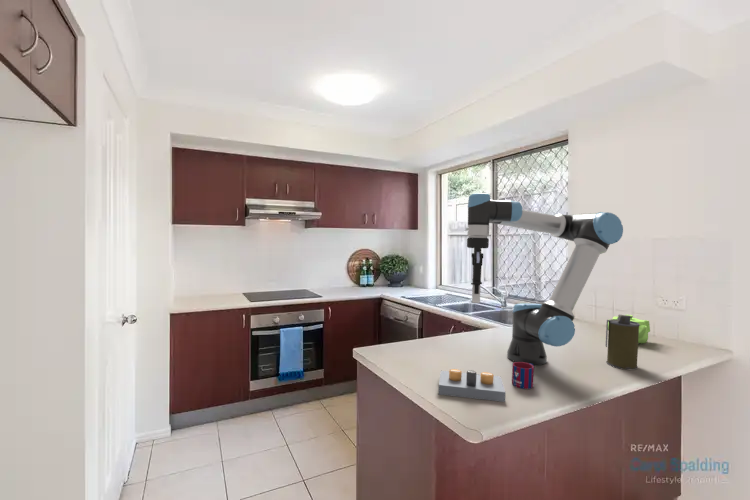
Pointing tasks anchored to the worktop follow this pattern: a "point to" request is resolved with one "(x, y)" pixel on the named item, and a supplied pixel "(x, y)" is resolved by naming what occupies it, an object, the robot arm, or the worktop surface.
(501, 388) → the mount
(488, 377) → the knob
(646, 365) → the worktop surface
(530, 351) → the robot arm
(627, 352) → the canister
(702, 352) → the worktop surface
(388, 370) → the worktop surface
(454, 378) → the knob
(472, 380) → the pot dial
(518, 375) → the mug
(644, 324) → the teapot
